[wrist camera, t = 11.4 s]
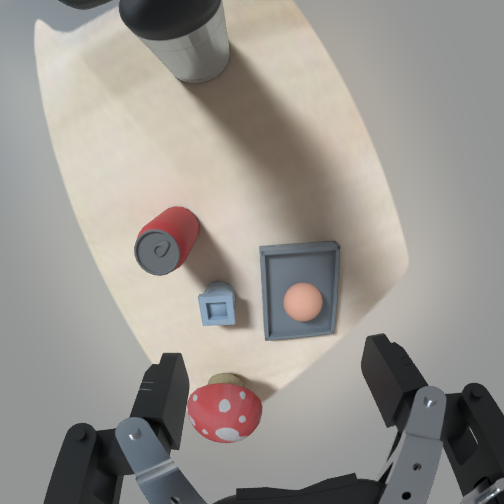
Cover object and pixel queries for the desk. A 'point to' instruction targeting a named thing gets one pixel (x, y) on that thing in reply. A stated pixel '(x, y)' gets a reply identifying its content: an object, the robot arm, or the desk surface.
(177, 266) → the beer can
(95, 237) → the desk surface
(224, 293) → the square to round adapter
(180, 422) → the robot arm
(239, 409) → the decorative mushroom
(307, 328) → the tray
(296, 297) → the ball
